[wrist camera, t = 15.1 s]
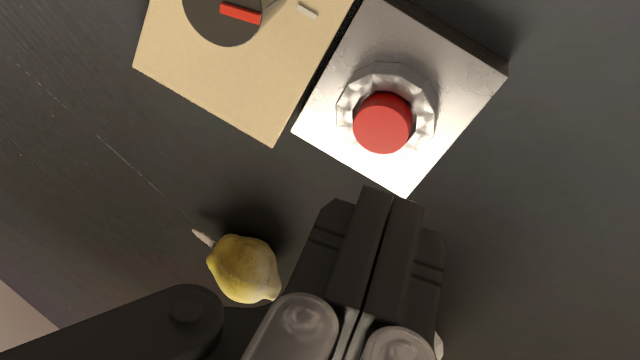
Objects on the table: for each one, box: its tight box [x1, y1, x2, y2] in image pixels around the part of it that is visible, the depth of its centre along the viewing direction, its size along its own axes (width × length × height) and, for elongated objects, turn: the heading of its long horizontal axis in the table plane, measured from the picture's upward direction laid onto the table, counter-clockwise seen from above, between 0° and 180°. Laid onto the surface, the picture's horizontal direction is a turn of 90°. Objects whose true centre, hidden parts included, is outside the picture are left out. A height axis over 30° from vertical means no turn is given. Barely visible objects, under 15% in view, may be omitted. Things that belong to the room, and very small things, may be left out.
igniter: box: [290, 0, 508, 199], centre depth 37 cm, size 12×10×4 cm
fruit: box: [192, 229, 281, 303], centre depth 50 cm, size 6×6×10 cm
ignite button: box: [353, 93, 413, 154], centre depth 35 cm, size 4×4×2 cm
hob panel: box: [132, 0, 356, 148], centre depth 37 cm, size 16×12×3 cm
